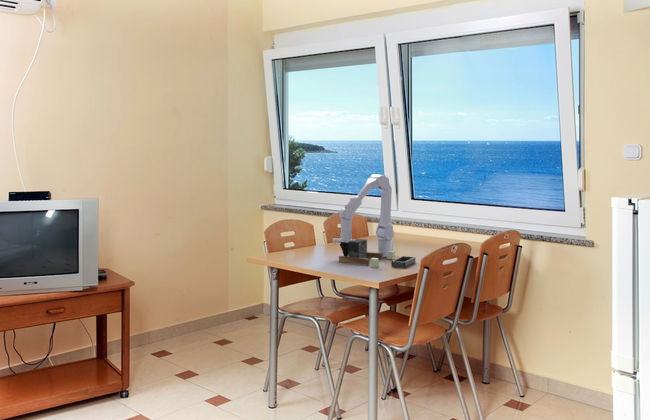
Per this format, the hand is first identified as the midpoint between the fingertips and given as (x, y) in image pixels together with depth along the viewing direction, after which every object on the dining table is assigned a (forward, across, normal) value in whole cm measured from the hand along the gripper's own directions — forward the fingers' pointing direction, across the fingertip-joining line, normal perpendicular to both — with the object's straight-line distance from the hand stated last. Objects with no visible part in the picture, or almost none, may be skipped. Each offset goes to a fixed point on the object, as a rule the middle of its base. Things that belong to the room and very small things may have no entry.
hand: (345, 257), depth 329 cm
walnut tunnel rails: (+1, +9, 0) cm, 9 cm away
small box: (+1, +7, 0) cm, 7 cm away
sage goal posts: (+1, +21, 0) cm, 21 cm away
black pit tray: (+1, +32, 0) cm, 32 cm away
